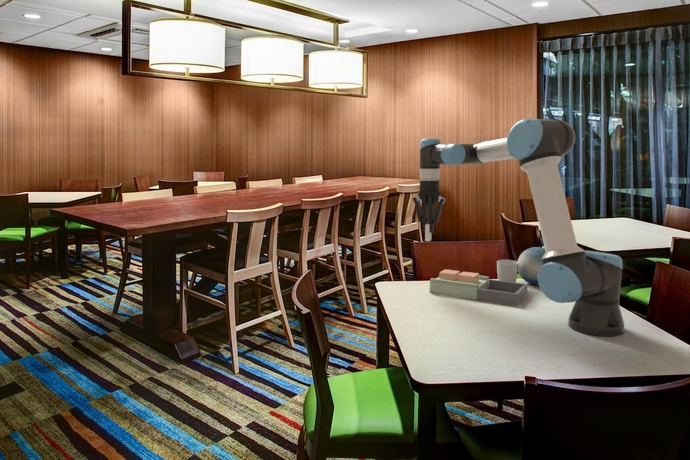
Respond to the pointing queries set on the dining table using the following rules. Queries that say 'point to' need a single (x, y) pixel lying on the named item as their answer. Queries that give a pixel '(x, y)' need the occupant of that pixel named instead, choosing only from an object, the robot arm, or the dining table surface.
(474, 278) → the tile front
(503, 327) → the dining table surface
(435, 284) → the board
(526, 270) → the decorative ball
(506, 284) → the tray
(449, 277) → the tile rear
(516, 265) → the cup
